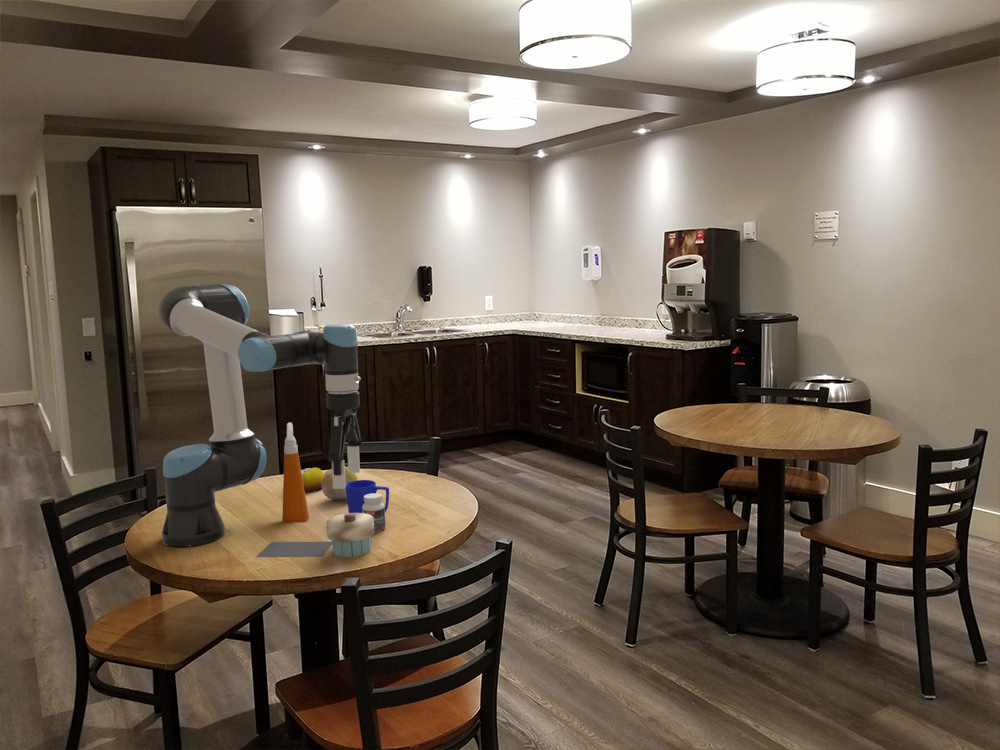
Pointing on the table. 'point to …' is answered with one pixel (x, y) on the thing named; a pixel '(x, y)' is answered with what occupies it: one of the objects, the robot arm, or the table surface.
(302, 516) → the orange squeeze bottle
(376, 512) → the pill bottle
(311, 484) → the fruit
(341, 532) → the lid
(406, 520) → the table surface
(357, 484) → the mug
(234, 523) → the table surface
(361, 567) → the table surface
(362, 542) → the bowl
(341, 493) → the fruit
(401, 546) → the table surface
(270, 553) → the mat
